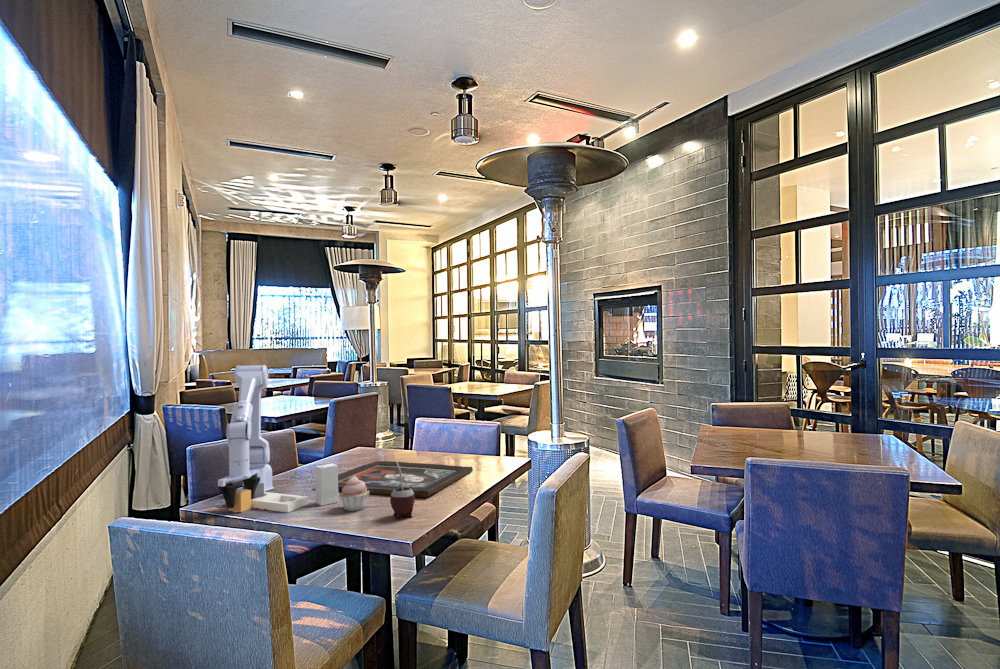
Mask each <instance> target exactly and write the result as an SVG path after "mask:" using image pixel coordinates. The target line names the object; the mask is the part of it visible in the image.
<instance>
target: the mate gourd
mask: <svg viewBox="0 0 1000 669" xmlns="http://www.w3.org/2000/svg"><path fill="white" fill-rule="evenodd" d="M395 462H396V463H397V466H398V469H399V474H400V481H401V487H400V488H396V489H394V490H393V492H392V493H391V495H390V498H389V499H390V500H389V503H390V505H391V508H392V510H393V512H394V513H392V514H393V517H395V520H396V521H399V520H400V519H403V518H407V519H412V518H413V515H412V513H413V509H414V505H415V500H416V499H415V498H416V497H415V496H414V492H413V491H412V489H411V488H408V487H403V483H402V475H401V474H402V472H401V469H400V466H399V464H398V462H399V461H395Z"/></svg>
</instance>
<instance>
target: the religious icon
mask: <svg viewBox="0 0 1000 669" xmlns="http://www.w3.org/2000/svg"><path fill="white" fill-rule="evenodd" d="M396 462H398V464H399V466H400V469H401V472H402V474H401V475H402V483H403V487H408V488H411V489H412V491H413V492H414V496H415V498H416V497H417V498H418V497H419V498H427V497H430V496H431V495H434V494H435V493H437V492H440V491H441V490H443V489H445V488H446V487H448V486H449V485H450V486H453V485H454V486H456V483H455V482H456V481H458V480H460V479H461V478H463V477H465V476H467V475H469V474H470V473H472V472H473V470H474V468H473V466H461V465H447V464H439V463H438V464H437V463H423V462H420V463H419V462H407V461H406V462H404V461H389V460H380V461H379V460H377V461H372V462H370V463H366V464H363V465H360V466H358V467H354V468H352V469H349V470H347V471H344V472H341V473H338V492H342V489H343V487H344V486H345V485H346V482H347V481H348V480H349V479H350V478H352V477H353V476H355V477H357V478H358V479H359V480H361V481H363V482H364V483H365V485H366V487H367V491H369V494H376V495H378V494H379V495H390V496H391V493H392V492H393V490H394V489H396V488H400V487H401V481H400V474H399V469H398V466H397V463H396Z"/></svg>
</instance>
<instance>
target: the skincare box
mask: <svg viewBox="0 0 1000 669" xmlns="http://www.w3.org/2000/svg"><path fill="white" fill-rule="evenodd" d="M338 467H339V465H337V464H335V463H332V462H331V463H327V464H322V465H315V467H314V474H315V475H314V476H315V478H314V480H315V481H314V482H315V483H314V484H315V503H316V504H317V505H319V506H326V505H327V506H328V505H331V504H335V503H339V491H338V475H339V468H338Z"/></svg>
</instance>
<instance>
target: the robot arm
mask: <svg viewBox="0 0 1000 669" xmlns="http://www.w3.org/2000/svg"><path fill="white" fill-rule="evenodd" d="M268 372H269V371H268V366H267V365H266V364H261V365H260V364H259V365H258V364H257V365H254V364H251V365H238V364H237V365H236V367H235V368H234V371H233V373H234V374H233V375H234V376H233V378H234V382H235V383H236V385H237V387H238V388H239V389H238V402H235V403H234V405H233V407H232V408H233V409H232V412H231V419H230V423H227V424H226V428H225V432H226V433H225V435H226V440H227V447H228V465H229V466H228V469H229V470H228V472H229V474H228V475H227V476H224V477H222V478H219V479H217V487H218V490H219V491H220V492H221V494H222V496H223V499H224V501H225V504H226V508H227V509H229V508H234V502H235V492H236V489H238V485H234V483H238V482H241V481H242V485H244V488H245V489H248V490H251V500H252V499H253V497H254V493H255V490H256V487H257V485H258V483H264V492H268V491H272V490H274V489H275V487H274V486H273V469H272V466H271V465H270V464H269V462H270V459H271V458H270V457H271V450H270V443H269V441H268V440H266V438H264V437H262V435H261V433H262V432H261V429H262V422H261V421H262V419H261V418H262V393H263V390H265V389H267V388H268V382H269V381H268V380H269V378H268V377H269V373H268Z"/></svg>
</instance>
